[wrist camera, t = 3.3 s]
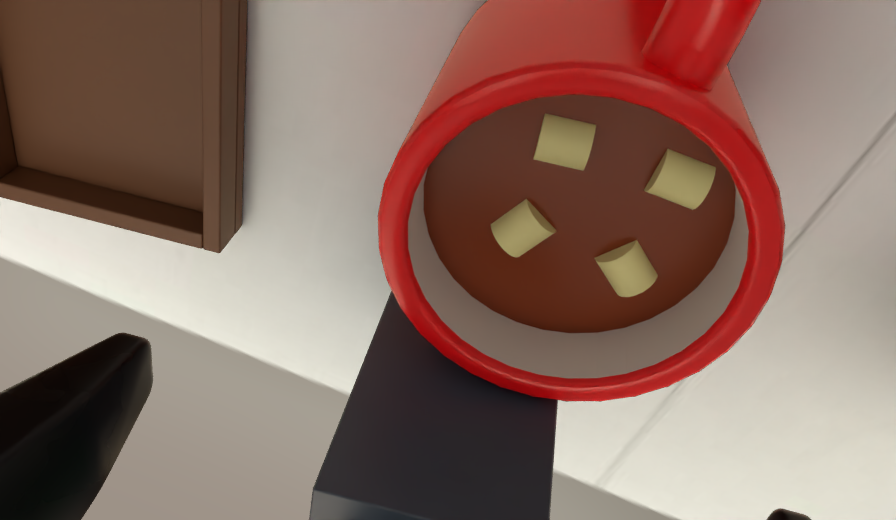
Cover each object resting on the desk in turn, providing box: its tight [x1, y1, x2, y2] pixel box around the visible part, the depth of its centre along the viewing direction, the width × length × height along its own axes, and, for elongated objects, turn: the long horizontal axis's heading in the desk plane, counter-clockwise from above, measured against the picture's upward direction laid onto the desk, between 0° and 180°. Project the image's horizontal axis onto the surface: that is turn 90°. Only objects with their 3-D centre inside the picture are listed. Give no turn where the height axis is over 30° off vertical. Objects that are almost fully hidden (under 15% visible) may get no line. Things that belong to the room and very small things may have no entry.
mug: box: [378, 0, 785, 401], centre depth 16 cm, size 8×12×8 cm, turn 162°
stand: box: [309, 291, 558, 520], centre depth 20 cm, size 5×5×12 cm
